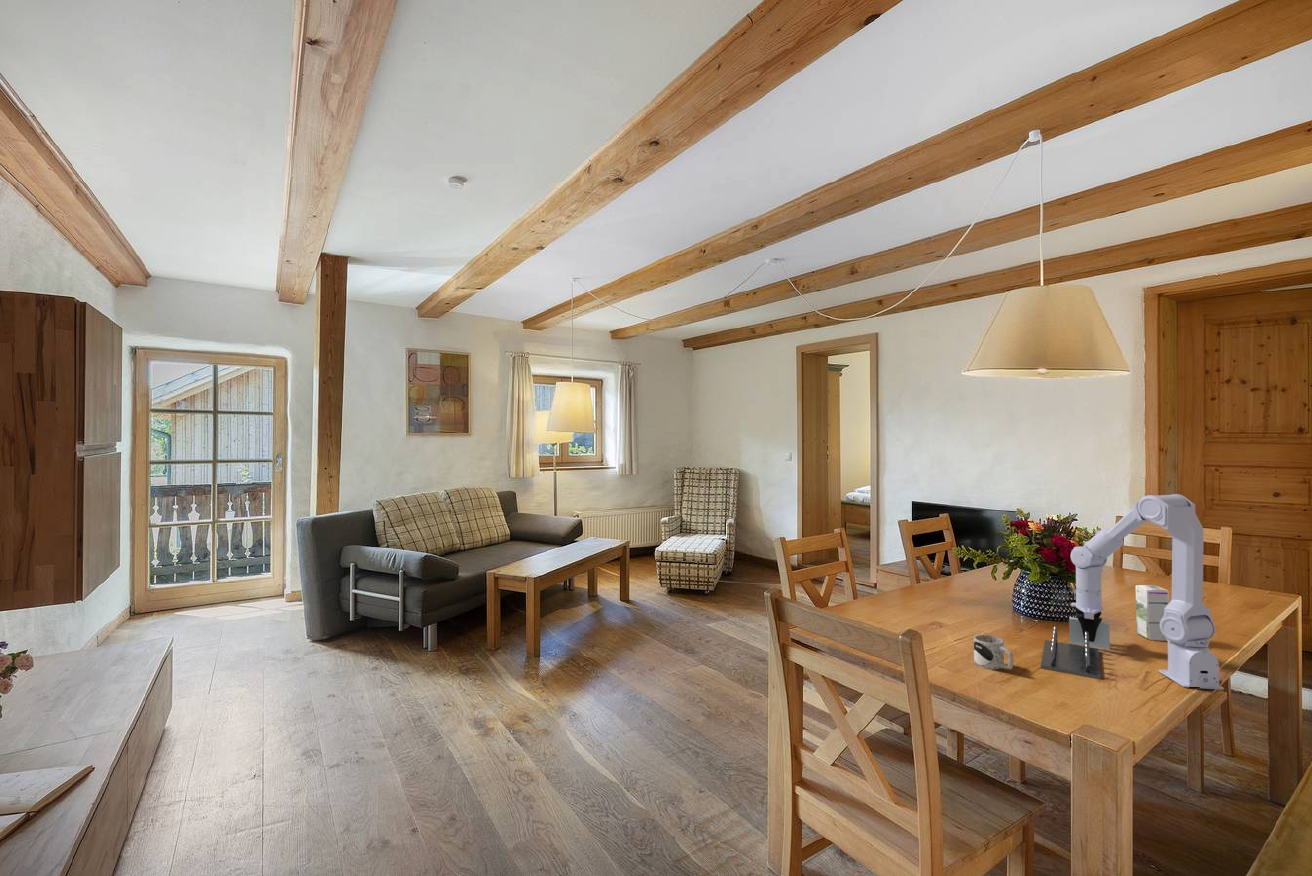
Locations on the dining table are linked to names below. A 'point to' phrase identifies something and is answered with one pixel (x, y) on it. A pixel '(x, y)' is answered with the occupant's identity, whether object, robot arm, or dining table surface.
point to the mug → (991, 652)
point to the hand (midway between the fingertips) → (1089, 638)
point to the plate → (1100, 640)
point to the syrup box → (1150, 610)
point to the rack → (1071, 657)
